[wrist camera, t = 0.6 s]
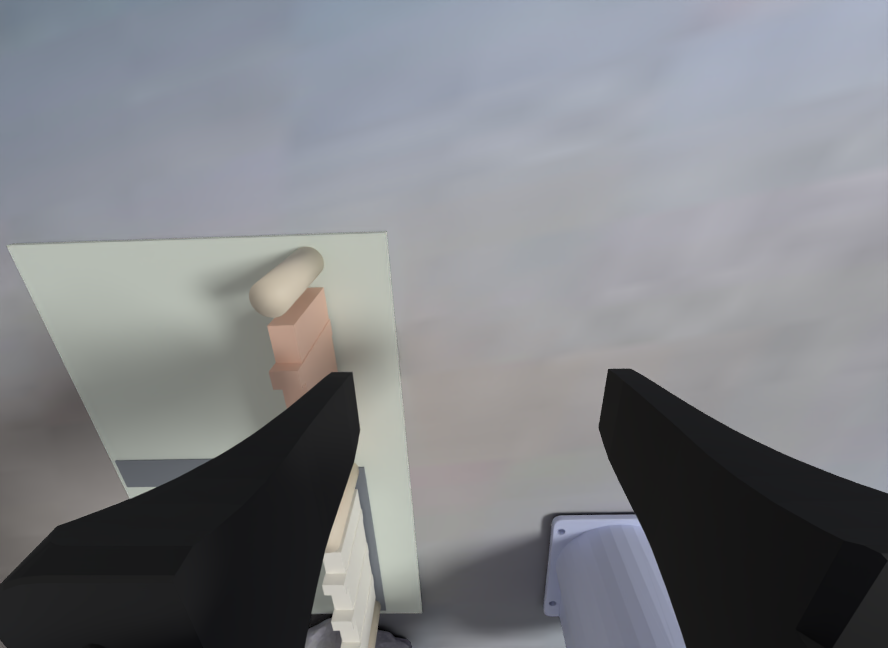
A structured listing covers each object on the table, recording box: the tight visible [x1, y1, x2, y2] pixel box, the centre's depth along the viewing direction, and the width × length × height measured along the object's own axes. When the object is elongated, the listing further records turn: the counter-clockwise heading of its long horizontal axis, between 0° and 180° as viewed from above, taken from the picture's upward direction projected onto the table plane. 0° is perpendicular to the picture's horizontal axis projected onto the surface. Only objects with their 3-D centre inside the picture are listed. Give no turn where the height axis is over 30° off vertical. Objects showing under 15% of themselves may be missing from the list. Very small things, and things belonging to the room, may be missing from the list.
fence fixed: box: [322, 463, 381, 648], centre depth 25 cm, size 14×1×5 cm, turn 2°
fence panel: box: [249, 246, 338, 408], centre depth 19 cm, size 12×1×5 cm, turn 2°
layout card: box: [7, 231, 422, 614], centre depth 24 cm, size 27×17×1 cm, turn 2°
